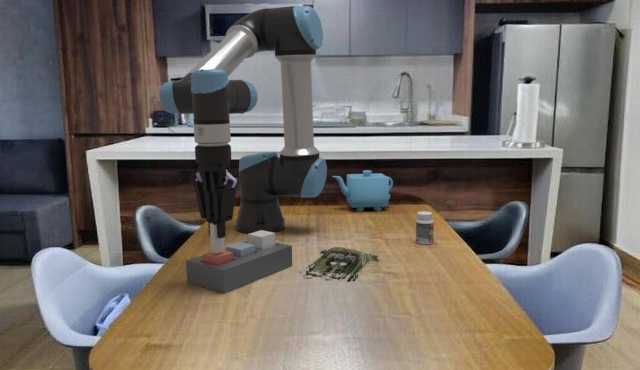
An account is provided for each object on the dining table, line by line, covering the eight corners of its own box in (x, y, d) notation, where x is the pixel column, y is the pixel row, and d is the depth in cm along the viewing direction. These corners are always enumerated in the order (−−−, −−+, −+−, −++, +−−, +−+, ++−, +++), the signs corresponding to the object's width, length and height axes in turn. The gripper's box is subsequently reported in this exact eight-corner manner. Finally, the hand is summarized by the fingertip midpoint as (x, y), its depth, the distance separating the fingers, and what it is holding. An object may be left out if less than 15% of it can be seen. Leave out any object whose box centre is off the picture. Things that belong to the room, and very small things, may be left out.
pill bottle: (433, 245, 144) (434, 215, 143) (415, 244, 145) (416, 214, 144) (433, 240, 149) (433, 211, 148) (416, 239, 150) (416, 210, 149)
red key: (203, 271, 117) (202, 254, 117) (219, 266, 121) (218, 249, 120) (218, 275, 115) (217, 257, 114) (233, 269, 118) (233, 252, 118)
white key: (248, 250, 128) (247, 234, 127) (261, 245, 132) (261, 230, 131) (262, 253, 125) (262, 237, 125) (275, 248, 129) (275, 232, 128)
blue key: (227, 263, 123) (226, 246, 122) (241, 258, 126) (240, 242, 126) (241, 267, 120) (240, 249, 119) (255, 261, 124) (255, 245, 123)
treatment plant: (373, 286, 116) (373, 270, 115) (292, 282, 119) (292, 266, 118) (381, 253, 140) (381, 239, 139) (314, 250, 143) (313, 237, 143)
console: (187, 281, 119) (186, 260, 118) (256, 257, 136) (255, 238, 135) (224, 293, 111) (223, 270, 111) (292, 265, 129) (291, 245, 128)
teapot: (389, 204, 198) (389, 167, 195) (396, 211, 187) (396, 172, 184) (330, 206, 196) (329, 169, 193) (333, 213, 185) (333, 173, 182)
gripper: (178, 144, 114) (185, 250, 118) (220, 147, 106) (226, 261, 110) (205, 141, 120) (210, 242, 124) (247, 143, 112) (251, 252, 116)
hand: (218, 251), depth 117 cm, fingers closed
